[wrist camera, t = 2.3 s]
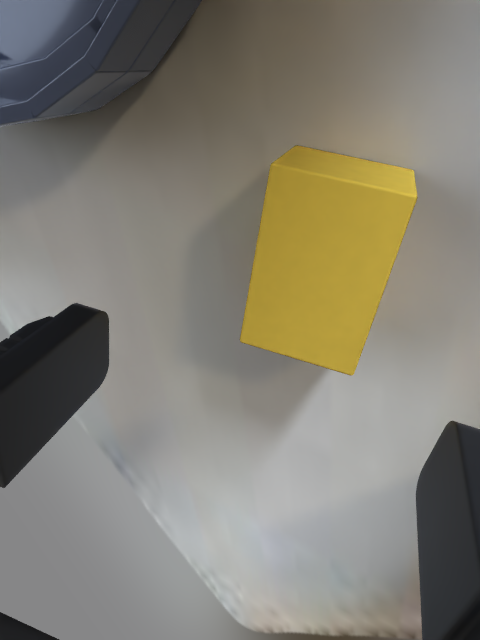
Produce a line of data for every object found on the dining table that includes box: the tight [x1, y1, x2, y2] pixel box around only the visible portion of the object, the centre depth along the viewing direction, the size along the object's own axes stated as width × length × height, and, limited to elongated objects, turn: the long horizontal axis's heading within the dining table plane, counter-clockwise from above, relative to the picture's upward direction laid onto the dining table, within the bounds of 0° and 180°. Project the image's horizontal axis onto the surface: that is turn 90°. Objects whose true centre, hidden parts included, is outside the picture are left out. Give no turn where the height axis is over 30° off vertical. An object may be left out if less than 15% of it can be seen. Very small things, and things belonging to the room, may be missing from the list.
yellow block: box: [240, 145, 417, 375], centre depth 17 cm, size 7×5×4 cm, turn 171°
